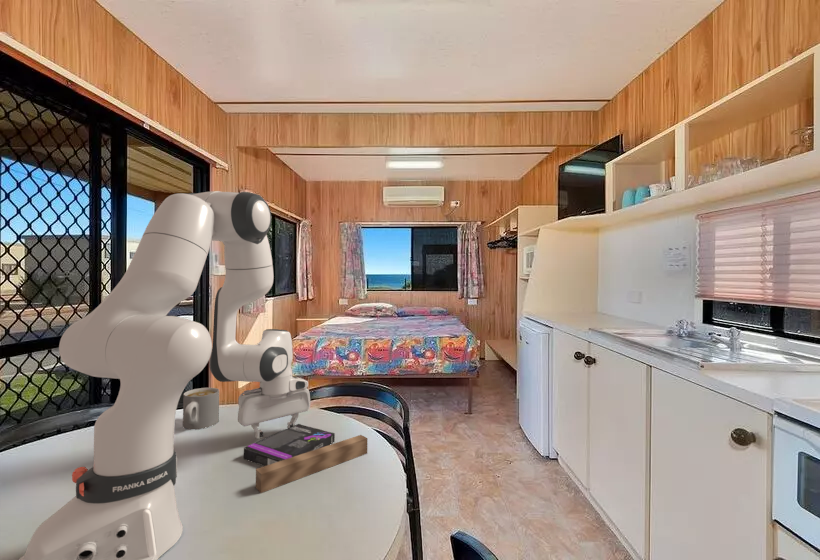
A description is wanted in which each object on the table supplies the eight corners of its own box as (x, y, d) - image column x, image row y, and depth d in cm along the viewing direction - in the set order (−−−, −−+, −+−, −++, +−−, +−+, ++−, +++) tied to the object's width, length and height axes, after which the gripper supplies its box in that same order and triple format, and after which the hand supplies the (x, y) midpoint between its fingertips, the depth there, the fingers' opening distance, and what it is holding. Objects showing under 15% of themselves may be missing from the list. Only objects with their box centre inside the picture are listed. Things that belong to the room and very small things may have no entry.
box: (281, 476, 88) (335, 443, 105) (281, 461, 88) (335, 431, 105) (242, 461, 95) (299, 433, 112) (242, 447, 95) (299, 421, 112)
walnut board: (260, 493, 79) (261, 474, 79) (255, 487, 81) (255, 469, 82) (367, 453, 98) (367, 438, 98) (360, 449, 101) (360, 434, 101)
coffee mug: (198, 417, 124) (198, 386, 124) (225, 419, 122) (226, 388, 123) (166, 432, 111) (166, 399, 111) (196, 435, 109) (196, 400, 109)
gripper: (242, 394, 98) (242, 447, 98) (313, 381, 112) (312, 427, 112) (234, 389, 102) (233, 439, 102) (303, 377, 116) (302, 421, 116)
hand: (275, 433), depth 107 cm, fingers open, 8 cm apart
